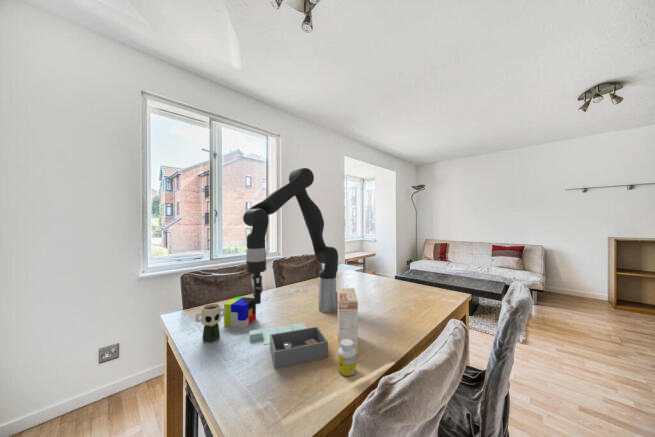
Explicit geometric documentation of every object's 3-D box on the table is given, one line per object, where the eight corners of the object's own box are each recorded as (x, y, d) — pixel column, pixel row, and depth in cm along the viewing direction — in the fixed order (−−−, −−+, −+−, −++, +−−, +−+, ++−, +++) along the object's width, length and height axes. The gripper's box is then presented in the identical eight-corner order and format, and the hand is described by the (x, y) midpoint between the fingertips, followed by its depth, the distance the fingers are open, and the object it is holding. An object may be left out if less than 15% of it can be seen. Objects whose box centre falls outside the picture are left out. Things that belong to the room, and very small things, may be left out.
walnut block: (312, 348, 86) (312, 338, 86) (318, 352, 83) (317, 342, 83) (304, 351, 84) (304, 341, 84) (309, 355, 81) (309, 345, 81)
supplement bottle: (337, 368, 75) (337, 338, 75) (354, 367, 76) (354, 337, 76) (339, 380, 70) (339, 347, 70) (357, 379, 70) (357, 346, 70)
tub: (317, 342, 91) (317, 326, 91) (327, 359, 80) (327, 341, 80) (269, 351, 85) (269, 334, 85) (274, 371, 74) (274, 352, 74)
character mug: (197, 347, 88) (197, 312, 88) (194, 339, 93) (194, 306, 93) (227, 338, 94) (227, 306, 94) (223, 331, 100) (223, 301, 100)
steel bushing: (290, 349, 85) (290, 341, 85) (292, 353, 82) (292, 345, 82) (282, 351, 84) (282, 342, 84) (283, 355, 81) (283, 347, 81)
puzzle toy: (244, 328, 103) (244, 305, 103) (224, 326, 105) (224, 304, 105) (255, 318, 113) (255, 298, 113) (237, 317, 115) (237, 296, 115)
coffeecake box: (337, 335, 97) (337, 287, 97) (354, 335, 97) (354, 287, 97) (337, 356, 82) (337, 300, 82) (358, 356, 82) (358, 300, 82)
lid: (303, 325, 106) (303, 318, 106) (311, 338, 94) (311, 330, 94) (248, 333, 98) (248, 326, 98) (250, 349, 86) (250, 340, 86)
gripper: (268, 261, 88) (268, 304, 88) (264, 255, 101) (264, 293, 101) (246, 263, 85) (247, 307, 85) (245, 257, 98) (246, 295, 98)
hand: (256, 299), depth 93 cm, fingers open, 8 cm apart
